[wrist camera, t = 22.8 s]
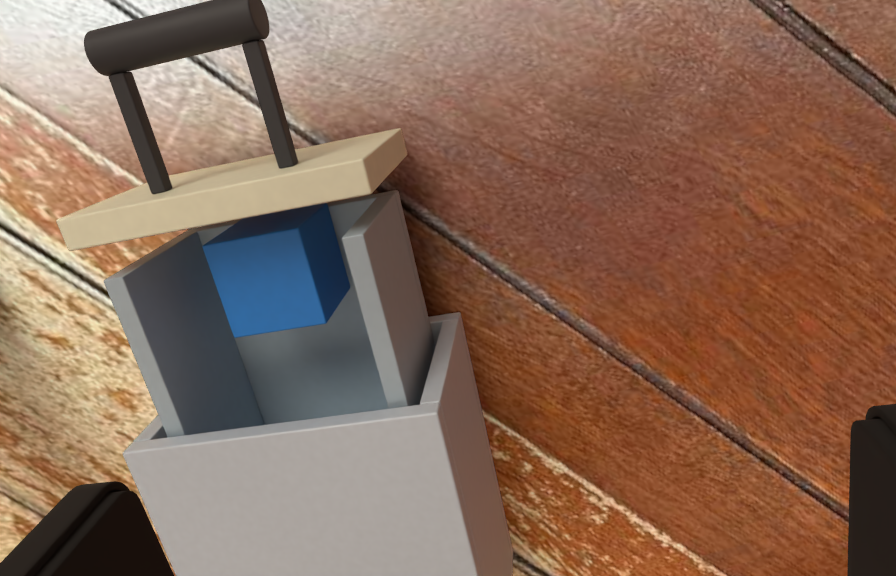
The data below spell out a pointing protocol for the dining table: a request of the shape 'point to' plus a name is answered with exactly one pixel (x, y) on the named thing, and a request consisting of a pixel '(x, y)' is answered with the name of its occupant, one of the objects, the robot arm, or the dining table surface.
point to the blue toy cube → (278, 270)
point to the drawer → (231, 198)
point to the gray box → (336, 488)
